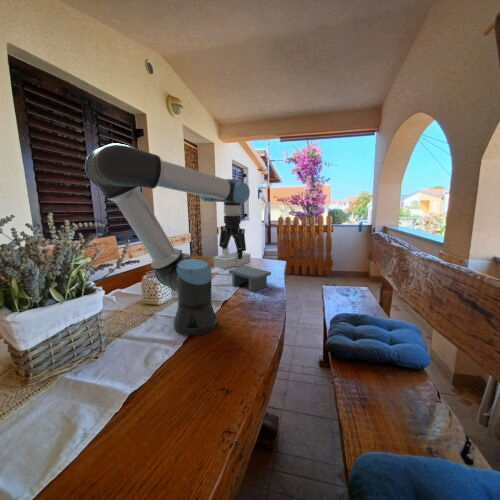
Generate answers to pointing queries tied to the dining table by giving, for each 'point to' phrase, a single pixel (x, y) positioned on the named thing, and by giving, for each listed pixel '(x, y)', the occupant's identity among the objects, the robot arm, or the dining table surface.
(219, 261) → the pale green open box
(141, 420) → the dining table surface
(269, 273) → the grey drawer cabinet
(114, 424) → the dining table surface
